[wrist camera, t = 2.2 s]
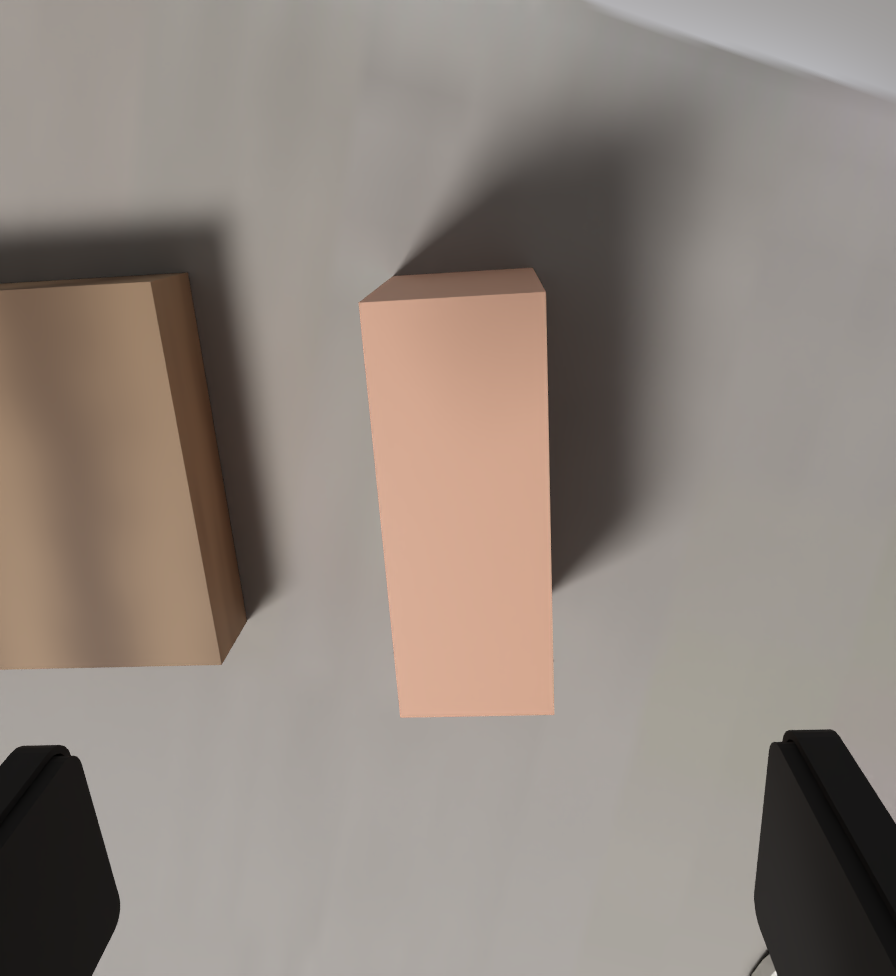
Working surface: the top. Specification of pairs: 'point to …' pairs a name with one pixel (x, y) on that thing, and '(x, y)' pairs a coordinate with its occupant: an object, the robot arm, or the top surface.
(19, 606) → the walnut stand
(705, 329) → the top surface
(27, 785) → the robot arm
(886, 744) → the top surface
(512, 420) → the terracotta block
